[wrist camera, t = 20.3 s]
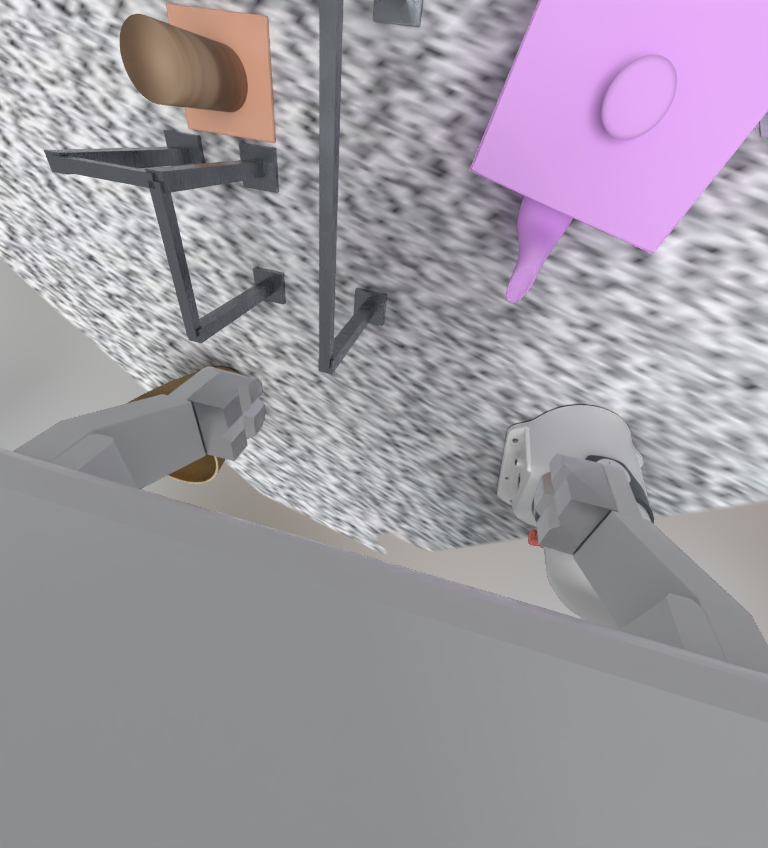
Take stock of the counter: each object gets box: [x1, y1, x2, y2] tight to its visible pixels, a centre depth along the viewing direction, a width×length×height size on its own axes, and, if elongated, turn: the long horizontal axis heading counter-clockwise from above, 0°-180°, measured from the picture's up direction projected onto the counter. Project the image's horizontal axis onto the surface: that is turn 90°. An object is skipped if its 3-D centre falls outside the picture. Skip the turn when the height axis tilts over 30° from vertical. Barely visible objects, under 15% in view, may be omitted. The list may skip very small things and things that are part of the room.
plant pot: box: [126, 367, 239, 484], centre depth 55 cm, size 15×15×16 cm
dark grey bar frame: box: [44, 0, 423, 374], centre depth 33 cm, size 31×27×16 cm
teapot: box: [469, 0, 768, 303], centre depth 27 cm, size 15×25×14 cm, turn 161°
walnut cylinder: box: [120, 14, 248, 112], centre depth 32 cm, size 5×5×10 cm
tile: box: [166, 4, 276, 143], centre depth 36 cm, size 9×10×1 cm
